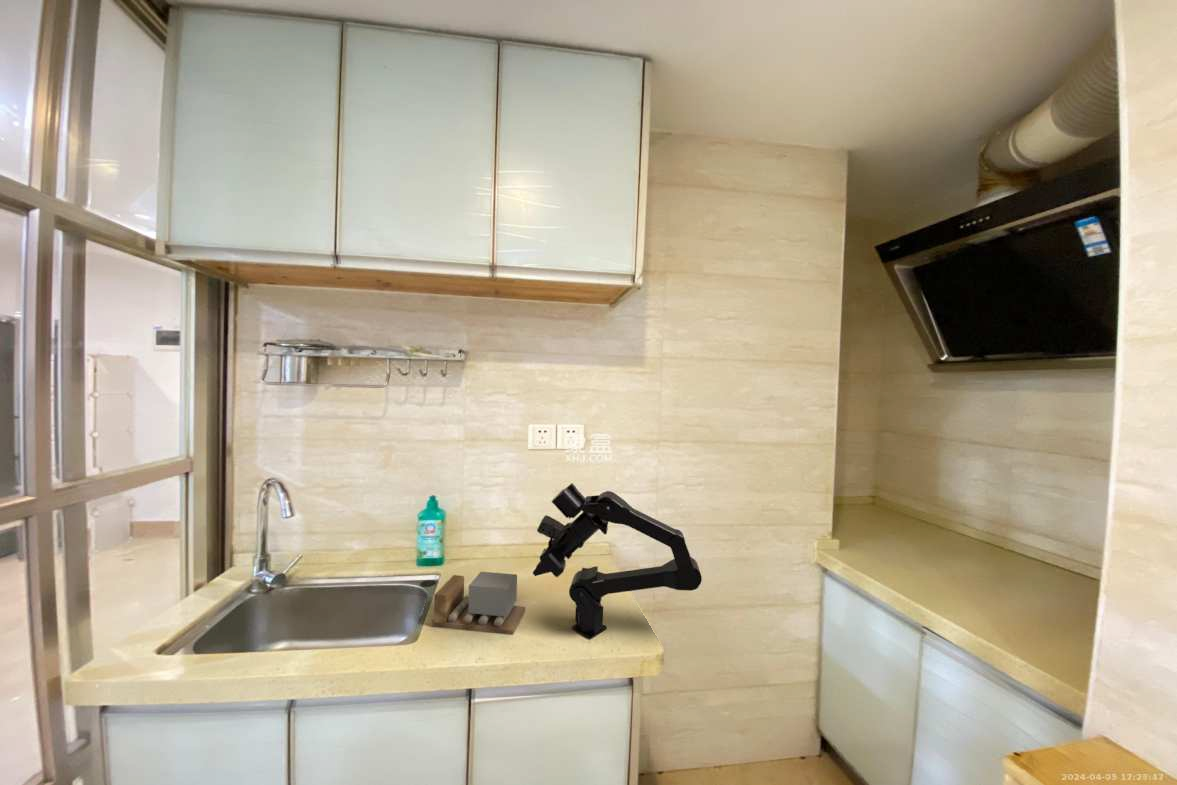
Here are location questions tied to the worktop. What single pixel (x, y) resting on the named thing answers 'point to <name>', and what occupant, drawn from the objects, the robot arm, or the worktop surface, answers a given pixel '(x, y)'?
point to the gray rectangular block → (493, 593)
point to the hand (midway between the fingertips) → (535, 571)
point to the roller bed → (489, 624)
